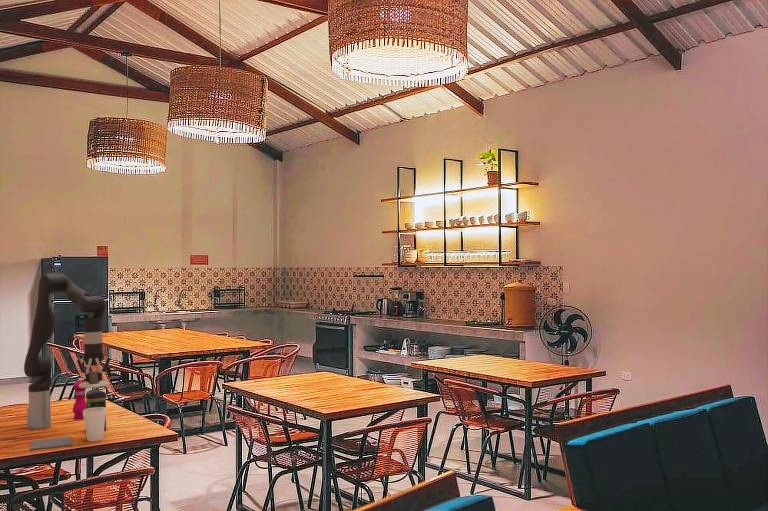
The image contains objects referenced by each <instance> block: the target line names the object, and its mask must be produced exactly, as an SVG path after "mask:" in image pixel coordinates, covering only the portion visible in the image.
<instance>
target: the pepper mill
mask: <svg viewBox="0 0 768 511" xmlns="http://www.w3.org/2000/svg"><path fill="white" fill-rule="evenodd" d="M85 382H86V381H83V379H82V378H81V377H79V378H78V379H77V381H76V382H75V383H74V384H73V389H74V395H75V402H74V403H73V407H72V413H73V414H74V415H73V420H79V421H80V420H84V416H83V410H84V409H87V404H86V393H87V391H86V389H87V388H80V387H79V384H81V383H85Z"/></svg>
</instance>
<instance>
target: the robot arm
mask: <svg viewBox="0 0 768 511" xmlns="http://www.w3.org/2000/svg"><path fill="white" fill-rule="evenodd" d="M59 293H64V294H66V295H65V296H66V297H67V300H69V301H70V302H71V303H73V305H76V306H77V307H78V309H79V311H80V312H83V313H85V314H87V313H88V314H90V313H92V316H90V317H88V318H86V319H85V320H84V324H83V328H84V332H83V357H82V358H77V359H76V363H77V365H78V367H79V371H80V372H81V373H82V374H85V382H87V383H89V372H90V368H91V367H93V366H96V367H97V369H98V371H99V382H101V381H103V373H104V372H107V370H108V367H109V364H110V361H111V358H110V357H109V356H105V355H104V354H103V353H104V350H103V347H104V346H103V344H104V343H103V342H104V341H103V340H104V339H103V331H102V327H103V326H102V321H103V318H104V313H105V311H106V300H105V299H104V297H103V296H100V295H94V296H93V295H91V294H90V293H89V292H88V291H86V290H84V289H82V288H80V287H79V286H78V285H76V284H75V283H74V281H72V280H71V279H70V278H69V277H68V276H67V275H66V274H64V273H61V272H48V273H45V272H44V273H43V274H42V275H41V276H40V277H39V282H38V290H37V300H36V301H37V302H36V309H35V314H34V318H33V323H32V330H31V335H30V342H29V346H28V349H27V353H26V355H25V356H26V357H25V360H24V364H23V365H24V366H23V372H24V375H25V376H26V377H27V378H34V377H38V379H37V380H35V381H33V382H32V383H30V384H29V385H28V388H27V389H28V407H27V408H26V418H27V419H26V423H27V424H26V427H27V428H26V429H29V430H42V429H46V428H50V427H51V426H52V420H51V419H52V418H51V417H52V416H51V412H52V411H51V410H52V409H51V384H52V361H51V360H52V359H51V358H50V357H49V356H48V355H40V353H41V350H42V349H43V347H44V346H45V345H46V344H47V343H48V342H49V340H50V339H51V338H52V336H53V335H54V332H55V327H56V322H57V321H56V320H57V319H56V314H54V311H53V309H52V307H51V305H50V295H51V294H59ZM103 360H104V367H103V368H102V365H101V363H102V362H103ZM83 362H85V364H86V369H84V367H83Z"/></svg>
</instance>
